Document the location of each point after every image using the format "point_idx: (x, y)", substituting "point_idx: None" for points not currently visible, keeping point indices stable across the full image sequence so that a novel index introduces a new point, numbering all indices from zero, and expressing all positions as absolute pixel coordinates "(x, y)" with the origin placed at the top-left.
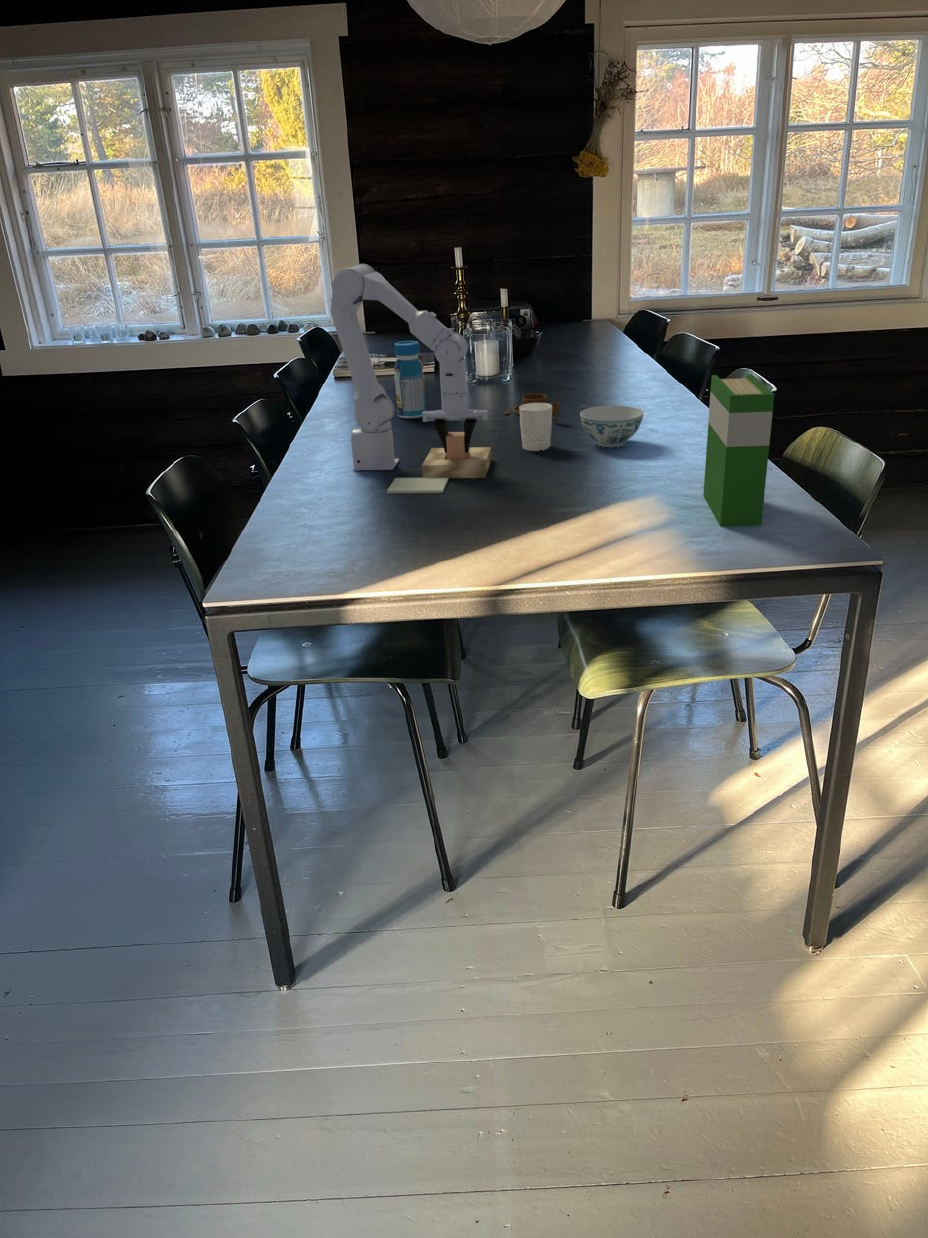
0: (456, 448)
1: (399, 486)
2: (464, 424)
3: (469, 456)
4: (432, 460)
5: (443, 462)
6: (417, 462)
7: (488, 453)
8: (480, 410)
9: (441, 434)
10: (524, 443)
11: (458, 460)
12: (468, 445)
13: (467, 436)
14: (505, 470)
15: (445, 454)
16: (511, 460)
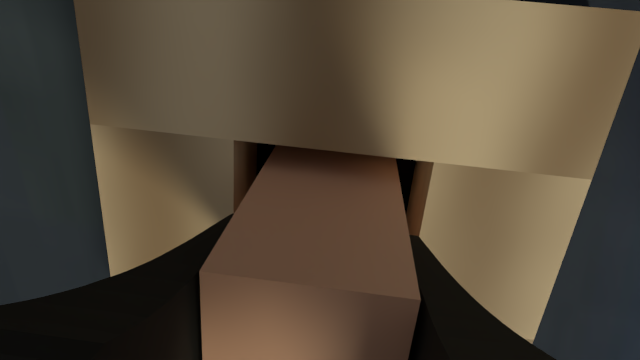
0: (314, 214)
1: None
2: (73, 355)
3: (232, 212)
4: (529, 152)
5: (436, 80)
6: (574, 348)
7: (109, 257)
8: None
9: (486, 332)
10: None
11: (308, 120)
12: (198, 234)
13: (160, 274)
14: (36, 121)
15: None
16: (52, 292)
